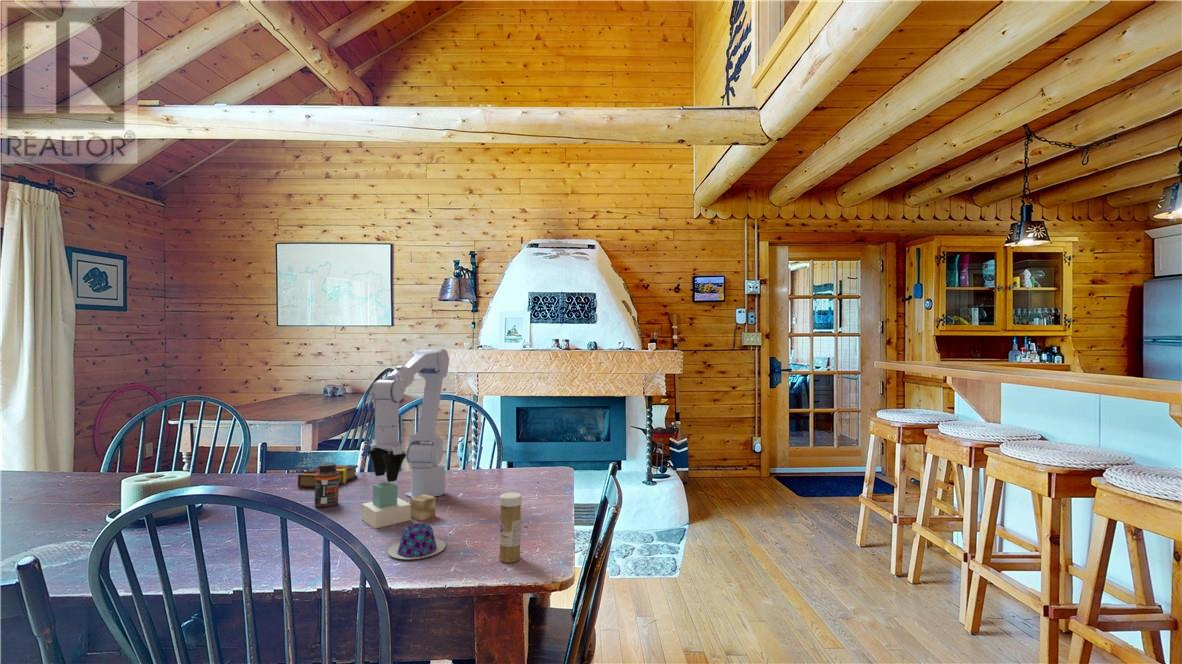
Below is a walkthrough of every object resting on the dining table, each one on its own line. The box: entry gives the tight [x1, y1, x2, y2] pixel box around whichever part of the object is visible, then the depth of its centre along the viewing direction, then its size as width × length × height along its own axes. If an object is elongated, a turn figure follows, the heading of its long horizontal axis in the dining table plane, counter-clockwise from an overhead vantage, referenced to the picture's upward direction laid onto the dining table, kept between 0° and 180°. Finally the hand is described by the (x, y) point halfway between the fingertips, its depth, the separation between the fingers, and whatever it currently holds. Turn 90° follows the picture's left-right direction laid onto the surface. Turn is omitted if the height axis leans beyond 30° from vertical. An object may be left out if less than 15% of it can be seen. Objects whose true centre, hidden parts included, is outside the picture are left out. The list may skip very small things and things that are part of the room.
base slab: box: [361, 497, 412, 529], centre depth 131 cm, size 9×9×4 cm
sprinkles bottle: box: [498, 491, 523, 564], centre depth 107 cm, size 5×5×13 cm
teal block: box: [372, 481, 398, 508], centre depth 131 cm, size 4×4×5 cm
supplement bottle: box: [314, 462, 340, 508], centre depth 143 cm, size 6×6×11 cm
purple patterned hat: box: [387, 523, 447, 560], centre depth 112 cm, size 12×12×5 cm
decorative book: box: [297, 464, 359, 489], centre depth 167 cm, size 11×16×5 cm
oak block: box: [409, 495, 437, 522], centre depth 133 cm, size 4×4×5 cm
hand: (385, 478), depth 132 cm, fingers open, 7 cm apart
